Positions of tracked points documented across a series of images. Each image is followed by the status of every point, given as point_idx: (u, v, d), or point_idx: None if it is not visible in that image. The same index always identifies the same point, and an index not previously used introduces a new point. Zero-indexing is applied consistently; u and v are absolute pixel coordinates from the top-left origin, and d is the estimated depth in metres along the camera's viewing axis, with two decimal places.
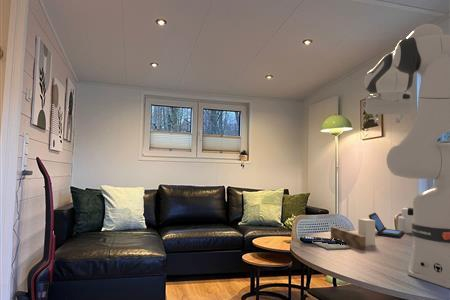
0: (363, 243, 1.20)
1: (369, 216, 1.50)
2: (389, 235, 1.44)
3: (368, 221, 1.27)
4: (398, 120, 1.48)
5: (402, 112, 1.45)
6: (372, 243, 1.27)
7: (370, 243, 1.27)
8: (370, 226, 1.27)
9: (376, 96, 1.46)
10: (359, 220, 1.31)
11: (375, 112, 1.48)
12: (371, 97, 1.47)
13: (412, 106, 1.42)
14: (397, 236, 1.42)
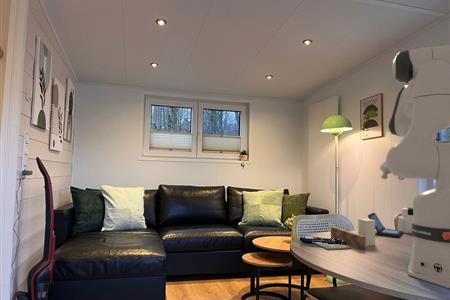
0: (363, 243, 1.20)
1: (368, 216, 1.50)
2: (388, 235, 1.44)
3: (368, 221, 1.27)
4: None
5: None
6: (372, 243, 1.27)
7: (370, 243, 1.27)
8: (370, 226, 1.27)
9: None
10: (359, 220, 1.31)
11: (386, 166, 1.40)
12: None
13: None
14: (396, 236, 1.43)
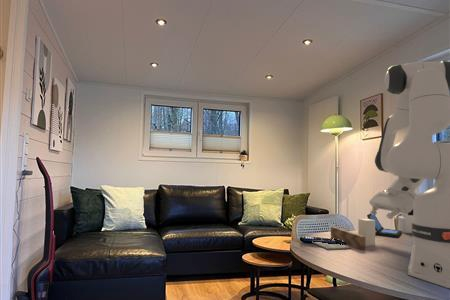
0: (363, 243, 1.20)
1: (368, 216, 1.50)
2: (388, 235, 1.45)
3: (368, 221, 1.27)
4: (389, 213, 1.27)
5: (395, 205, 1.27)
6: (372, 243, 1.27)
7: (370, 243, 1.27)
8: (370, 226, 1.27)
9: (387, 192, 1.40)
10: (359, 220, 1.31)
11: (375, 201, 1.38)
12: None
13: (406, 200, 1.24)
14: (396, 236, 1.43)
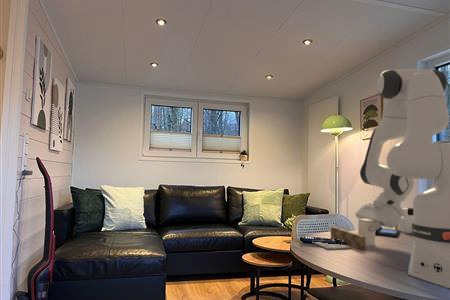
0: (363, 243, 1.20)
1: None
2: (387, 235, 1.45)
3: (368, 221, 1.27)
4: (370, 227, 1.27)
5: (380, 219, 1.25)
6: (372, 243, 1.27)
7: (370, 243, 1.27)
8: None
9: (373, 204, 1.38)
10: (359, 220, 1.31)
11: (361, 214, 1.36)
12: None
13: (391, 214, 1.22)
14: (395, 236, 1.43)
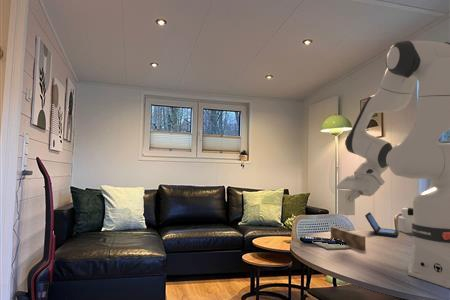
0: (363, 243, 1.20)
1: (366, 216, 1.50)
2: (386, 235, 1.45)
3: (347, 191, 1.26)
4: (350, 196, 1.25)
5: (359, 188, 1.23)
6: (351, 213, 1.25)
7: (349, 213, 1.25)
8: None
9: None
10: (339, 190, 1.29)
11: (342, 186, 1.34)
12: None
13: (369, 182, 1.20)
14: (394, 235, 1.44)
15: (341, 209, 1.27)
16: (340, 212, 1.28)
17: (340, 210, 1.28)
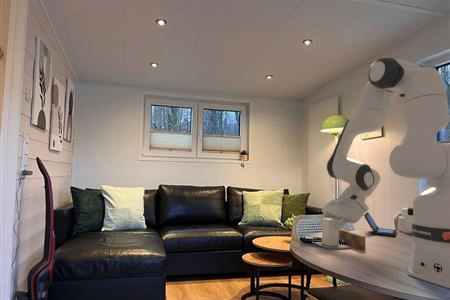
0: (363, 243, 1.20)
1: (365, 216, 1.51)
2: (385, 234, 1.45)
3: (331, 220, 1.23)
4: (336, 223, 1.21)
5: (343, 214, 1.21)
6: (335, 243, 1.23)
7: (333, 243, 1.23)
8: None
9: (339, 200, 1.34)
10: (323, 219, 1.26)
11: (326, 210, 1.32)
12: (336, 200, 1.36)
13: (353, 209, 1.18)
14: (393, 235, 1.44)
15: (325, 238, 1.24)
16: (324, 241, 1.25)
17: (324, 240, 1.25)
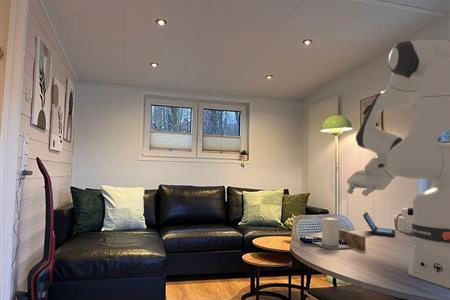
0: (363, 243, 1.20)
1: (364, 216, 1.51)
2: (384, 234, 1.46)
3: (331, 220, 1.23)
4: (364, 190, 1.25)
5: (371, 182, 1.25)
6: (335, 243, 1.23)
7: (333, 243, 1.23)
8: (334, 226, 1.23)
9: (364, 171, 1.38)
10: (323, 219, 1.26)
11: (352, 180, 1.36)
12: None
13: (381, 176, 1.22)
14: (392, 235, 1.44)
15: (325, 238, 1.24)
16: (324, 241, 1.25)
17: (324, 240, 1.25)
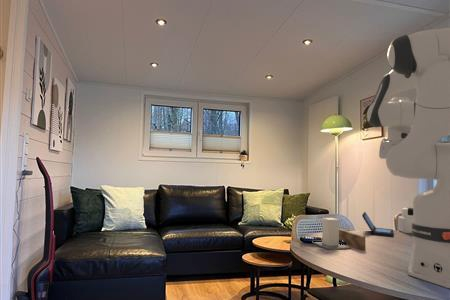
0: (363, 243, 1.20)
1: (363, 216, 1.51)
2: (383, 234, 1.46)
3: (331, 220, 1.23)
4: None
5: None
6: (335, 243, 1.23)
7: (333, 243, 1.23)
8: (334, 226, 1.23)
9: (387, 139, 1.37)
10: (323, 219, 1.26)
11: (385, 156, 1.36)
12: (384, 140, 1.39)
13: None
14: (391, 235, 1.45)
15: (325, 238, 1.24)
16: (324, 241, 1.25)
17: (324, 240, 1.25)
